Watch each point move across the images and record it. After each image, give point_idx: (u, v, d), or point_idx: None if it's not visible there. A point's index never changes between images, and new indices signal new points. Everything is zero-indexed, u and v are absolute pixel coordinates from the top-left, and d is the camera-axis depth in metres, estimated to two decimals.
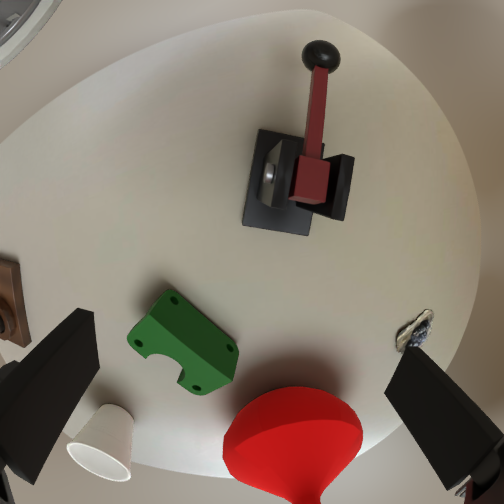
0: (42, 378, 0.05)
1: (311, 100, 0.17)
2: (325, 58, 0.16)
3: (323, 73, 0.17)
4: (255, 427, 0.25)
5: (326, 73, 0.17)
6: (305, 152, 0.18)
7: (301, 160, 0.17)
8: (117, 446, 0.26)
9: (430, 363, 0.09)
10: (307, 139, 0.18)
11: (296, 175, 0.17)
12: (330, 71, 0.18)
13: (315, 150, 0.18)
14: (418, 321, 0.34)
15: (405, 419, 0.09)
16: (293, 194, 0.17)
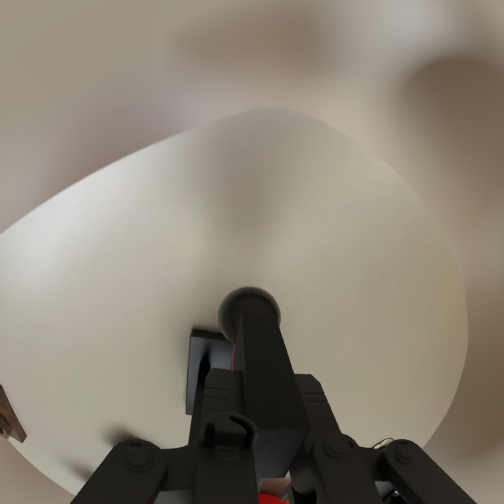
0: None
1: None
2: None
3: None
4: None
5: None
6: None
7: None
8: None
9: (272, 331, 0.10)
10: None
11: None
12: None
13: None
14: (375, 448, 0.29)
15: None
16: None
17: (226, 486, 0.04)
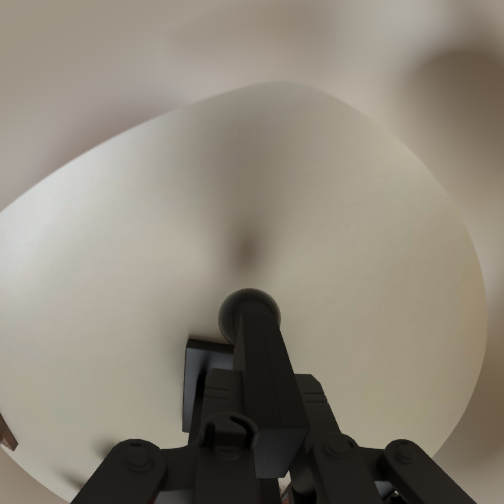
0: None
1: None
2: None
3: None
4: None
5: None
6: None
7: None
8: None
9: (272, 331, 0.10)
10: None
11: None
12: None
13: None
14: None
15: None
16: None
17: (226, 486, 0.04)
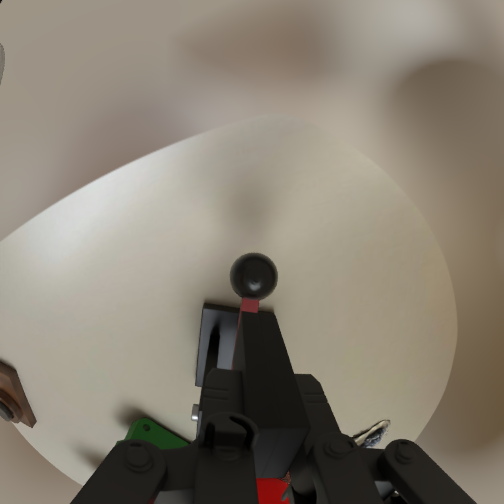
0: None
1: None
2: (253, 293, 0.17)
3: (252, 308, 0.18)
4: None
5: (256, 307, 0.18)
6: None
7: None
8: None
9: (272, 331, 0.10)
10: None
11: None
12: None
13: None
14: (372, 430, 0.33)
15: None
16: None
17: (226, 486, 0.04)
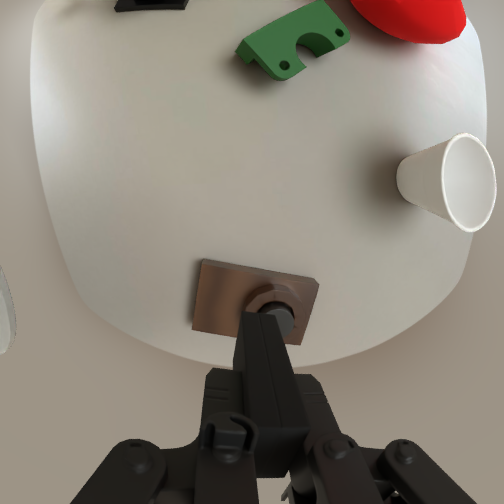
0: None
1: None
2: None
3: None
4: None
5: None
6: None
7: None
8: (440, 144, 0.21)
9: (272, 330, 0.10)
10: None
11: None
12: None
13: None
14: None
15: None
16: None
17: (226, 486, 0.04)
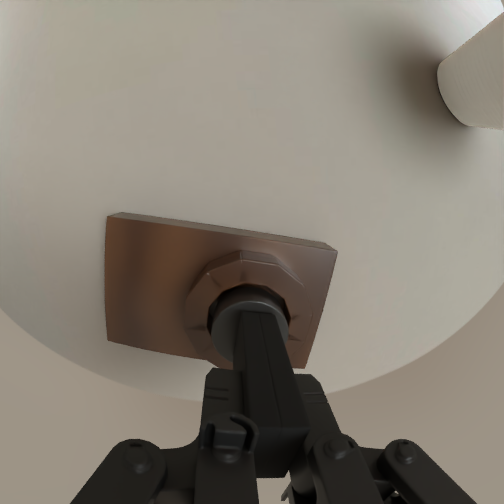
0: None
1: None
2: None
3: None
4: None
5: None
6: None
7: None
8: (496, 18, 0.06)
9: (272, 330, 0.10)
10: None
11: None
12: None
13: None
14: None
15: None
16: None
17: (226, 486, 0.04)
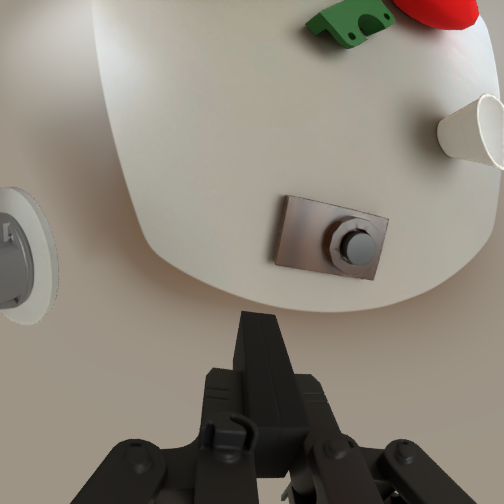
0: None
1: None
2: None
3: None
4: None
5: None
6: None
7: None
8: None
9: (272, 330, 0.10)
10: None
11: None
12: None
13: None
14: None
15: None
16: None
17: (226, 486, 0.04)
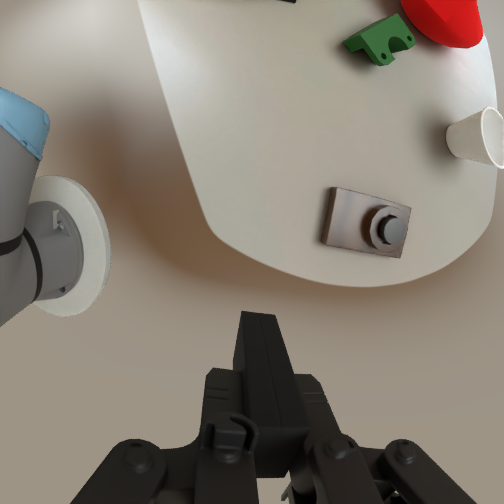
0: None
1: None
2: None
3: None
4: (426, 6, 0.22)
5: None
6: None
7: None
8: (476, 113, 0.27)
9: (272, 331, 0.10)
10: None
11: None
12: None
13: None
14: None
15: None
16: None
17: (226, 486, 0.04)
